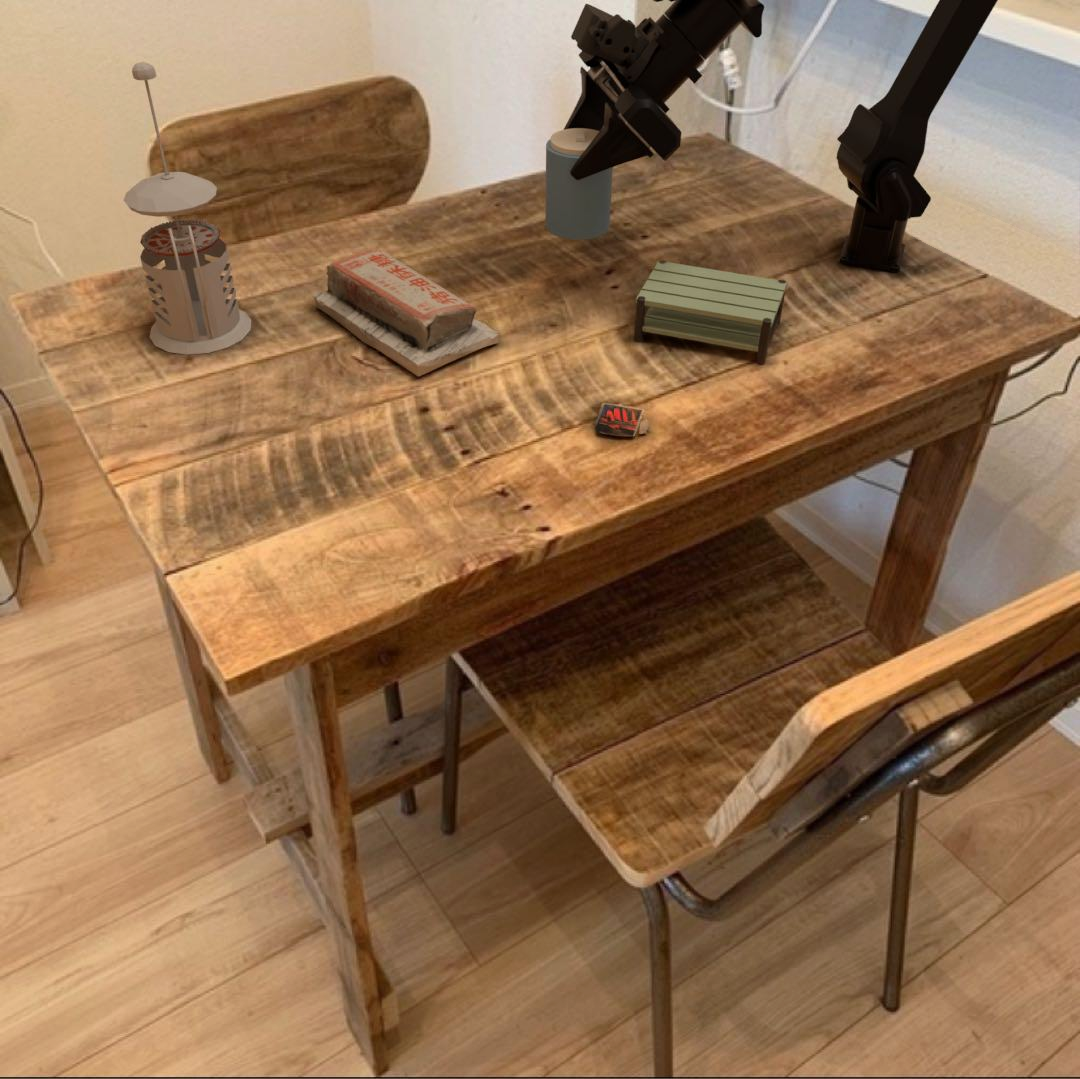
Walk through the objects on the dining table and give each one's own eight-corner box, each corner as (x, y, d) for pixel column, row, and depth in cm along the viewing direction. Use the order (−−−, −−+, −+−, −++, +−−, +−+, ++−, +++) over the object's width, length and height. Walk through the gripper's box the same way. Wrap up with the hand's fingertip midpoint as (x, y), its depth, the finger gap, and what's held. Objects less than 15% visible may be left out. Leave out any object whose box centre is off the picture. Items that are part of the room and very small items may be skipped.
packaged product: (305, 264, 105) (388, 236, 110) (312, 308, 109) (392, 279, 114) (414, 334, 95) (500, 299, 100) (418, 380, 98) (501, 344, 103)
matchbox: (595, 438, 92) (596, 433, 91) (593, 404, 95) (594, 400, 95) (650, 438, 92) (650, 434, 91) (646, 405, 95) (646, 401, 95)
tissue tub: (557, 208, 113) (558, 119, 107) (617, 217, 111) (622, 127, 105) (536, 234, 108) (536, 142, 102) (598, 244, 106) (603, 151, 100)
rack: (655, 299, 111) (658, 259, 108) (780, 321, 107) (788, 280, 104) (632, 341, 104) (635, 299, 101) (764, 365, 101) (772, 323, 98)
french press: (243, 297, 110) (194, 40, 94) (262, 353, 102) (212, 81, 86) (144, 313, 107) (76, 51, 91) (156, 371, 99) (83, 94, 83)
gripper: (603, -52, 102) (491, 75, 107) (656, 0, 88) (525, 143, 94) (676, 32, 108) (566, 148, 114) (736, 93, 94) (608, 222, 100)
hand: (565, 162), depth 105 cm, fingers closed on tissue tub, 6 cm apart
